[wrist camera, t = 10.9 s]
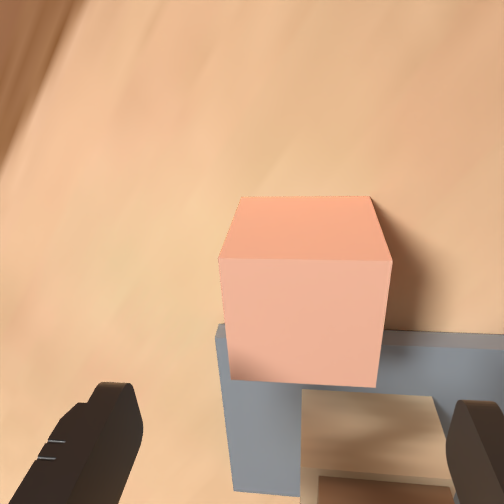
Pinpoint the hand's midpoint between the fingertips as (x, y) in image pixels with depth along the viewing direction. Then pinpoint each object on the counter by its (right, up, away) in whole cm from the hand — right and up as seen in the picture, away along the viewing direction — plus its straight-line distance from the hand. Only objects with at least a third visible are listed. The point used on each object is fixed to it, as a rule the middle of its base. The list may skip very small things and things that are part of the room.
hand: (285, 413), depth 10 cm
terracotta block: (+1, +4, +7) cm, 8 cm away
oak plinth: (+5, -5, +11) cm, 13 cm away
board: (+5, -5, +11) cm, 13 cm away
